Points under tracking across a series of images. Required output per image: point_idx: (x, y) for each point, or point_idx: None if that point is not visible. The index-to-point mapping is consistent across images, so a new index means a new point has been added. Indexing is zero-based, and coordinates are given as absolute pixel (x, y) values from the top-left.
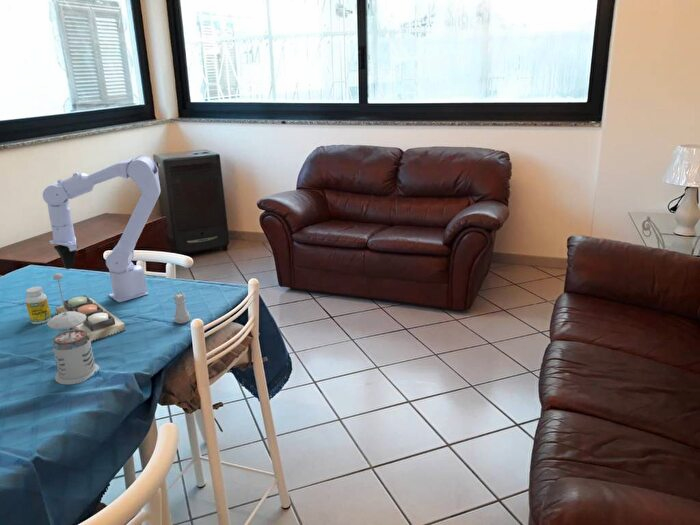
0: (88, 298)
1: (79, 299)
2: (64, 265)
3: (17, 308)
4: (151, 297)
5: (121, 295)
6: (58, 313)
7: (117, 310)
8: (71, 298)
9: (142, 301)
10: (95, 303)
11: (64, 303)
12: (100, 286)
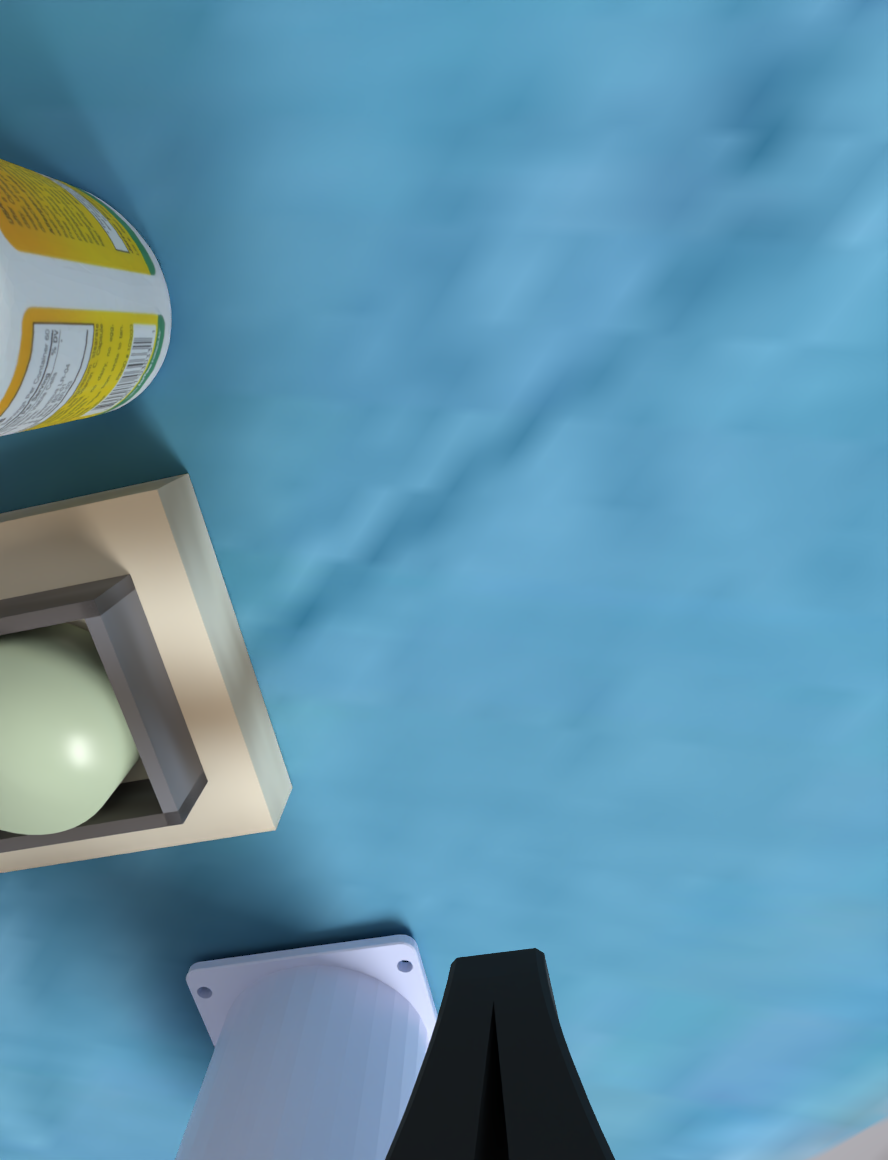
0: (63, 839)
1: (15, 769)
2: (503, 1002)
3: (636, 31)
4: None
5: (221, 1032)
6: (103, 495)
7: (33, 922)
8: (91, 701)
9: (144, 1085)
10: (91, 841)
11: (42, 606)
12: (726, 912)
